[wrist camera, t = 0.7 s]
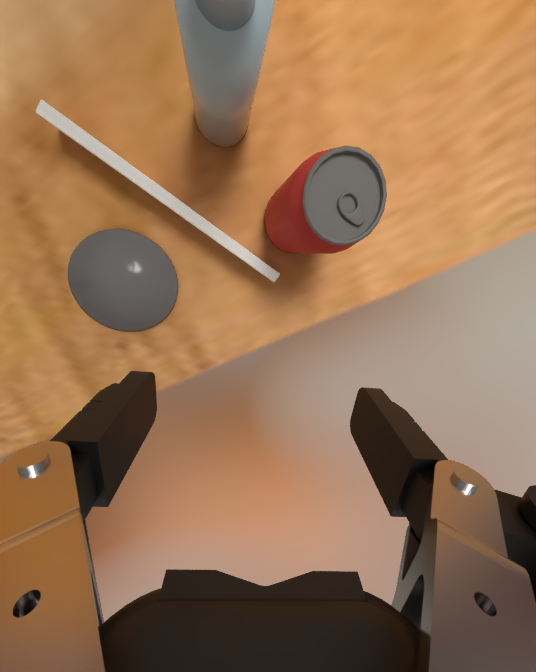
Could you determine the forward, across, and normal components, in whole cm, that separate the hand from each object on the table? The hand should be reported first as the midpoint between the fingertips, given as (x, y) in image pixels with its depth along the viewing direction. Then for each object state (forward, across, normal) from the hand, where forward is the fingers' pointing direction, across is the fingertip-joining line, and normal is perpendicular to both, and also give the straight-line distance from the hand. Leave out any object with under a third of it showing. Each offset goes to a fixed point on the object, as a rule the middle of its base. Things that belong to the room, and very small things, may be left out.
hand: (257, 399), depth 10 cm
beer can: (+21, -3, -8) cm, 23 cm away
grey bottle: (+21, +4, -16) cm, 26 cm away
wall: (+20, +8, -8) cm, 22 cm away
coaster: (+18, +13, 0) cm, 23 cm away
